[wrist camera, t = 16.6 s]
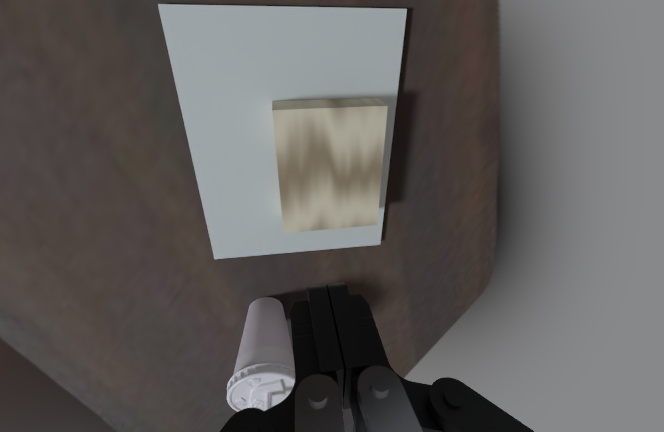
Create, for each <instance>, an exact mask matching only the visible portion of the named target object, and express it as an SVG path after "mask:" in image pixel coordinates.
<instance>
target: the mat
mask: <svg viewBox="0 0 664 432" xmlns="http://www.w3.org/2000/svg"><path fill="white" fill-rule="evenodd" d="M158 7H159V12H160V16H161V21H162V25H163V30H164V34H165V39H166V43H167V48H168V52H169V57H170V61H171V66H172V70H173V75H174V79H175V84H176V88H177V93H178V97H179V102H180V106H181V111H182V115H183V120H184V124H185V129H186V133H187V138H188V142H189V147H190V151H191V156H192V160H193V165H194V169H195V174H196V178H197V183H198V187H199V192H200V196H201V201H202V205H203V210H204V214H205V219H206V223H207V228H208V232H209V236H210V241H211V245H212V250H213V254H214V259H222V258H234V257H245V256H256V255H268V254H279V253H290V252H302V251H313V250H324V249H336V248H347V247H358V246H370V245H380V243H381V234H382V225H383V217H384V208H385V199H386V190H387V181H388V173H389V164H390V155H391V146H392V137H393V129H394V120H395V111H396V102H397V93H398V85H399V76H400V67H401V58H402V49H403V41H404V32H405V23H406V14H407V9H394V8H341V7H287V6H233V5H180V4H158ZM351 98H379V99H380V100H381V101H382V102H384V103H385V104H386V105H387V106H388V110H387V121H386V132H385V143H384V154H383V165H382V176H381V187H380V198H379V210H378V221H377V225H371V226H360V227H349V228H337V229H326V230H315V231H304V232H292V233H283V222H282V211H281V200H280V189H279V178H278V168H277V157H276V146H275V135H274V124H273V113H272V101H292V100H322V99H351Z"/></svg>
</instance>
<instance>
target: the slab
mask: <svg viewBox="0 0 664 432" xmlns="http://www.w3.org/2000/svg"><path fill="white" fill-rule="evenodd" d="M387 110H388V106H387V105H386V104H385V103H384V102H382V101H381V100H380V99H379V98H351V99H322V100H292V101H272V113H273V124H274V135H275V146H276V157H277V168H278V178H279V189H280V200H281V211H282V222H283V233H292V232H304V231H315V230H326V229H337V228H349V227H360V226H371V225H377V221H378V210H379V198H380V187H381V176H382V165H383V154H384V143H385V132H386V121H387Z"/></svg>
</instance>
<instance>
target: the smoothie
mask: <svg viewBox="0 0 664 432" xmlns="http://www.w3.org/2000/svg"><path fill="white" fill-rule="evenodd" d="M294 383H295V366H294V356H293V352H292V347H291V342H290V338H289V333H288V328H287V323H286V319H285V314H284V309H283V305H282V303H281V302H280V301H279V300H277V299H275V298H271V297H263V298H259V299H257V300H255V301H253V302H252V303H251V305H250V306H249V310H248V314H247V319H246V323H245V327H244V331H243V336H242V340H241V344H240V349H239V353H238V357H237V362H236V365H235V370H234V375H233V376H232V377H231V379H230V380H229V382H228V385H227V402H228V404H229V405H230V406H231V407H232V408H233V409H234V410H236V411H238V412H239V411H240V410H243V409H246V408H259V409H261V410H263V411H265V410H267V409H269V408H271V407H273V406H275V405H277V404H279V403H280V402H282V401H283V400H284V399H285V398H286V397H287V396H288V395H289V394H290V392H291V391H292V389H293V387H294Z"/></svg>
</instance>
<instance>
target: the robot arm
mask: <svg viewBox="0 0 664 432" xmlns="http://www.w3.org/2000/svg"><path fill="white" fill-rule="evenodd" d="M290 315H291V328H292V341H293V353H294V366H295V383H294V387H293V389H292V391H291V392H290V394H289V395H288V396H287V397H286V398H285V399H284V400H283V401H282V402H280V403H279V404H277V405H275V406H273V407H271V408H269V409H267V410H265V411H263V410H261V409H259V408H246V409H243V410H240V411H239V412H237V413H235V414H234V415H233V416H232V417H231V418H230V419H229V420H228V422H227V423H226V424H225V426H224V427H223V428H222V429H221V431H220V432H345V427H344V419H343V410H342V404H343V409H348V408H351V411H352V416H353V420H354V425H353V432H534V431H533V430H531V429H530V428H528V427H527V426H525V425H524V424H522V423H521V422H519V421H518V420H517V419H515V418H514V417H512V416H511V415H509V414H508V413H506V412H504V411H503V410H502V409H500V408H499V407H497V406H496V405H494V404H493V403H492V402H490V401H489V400H487V399H485V398H484V397H483V396H481V395H480V394H478V393H477V392H475V391H474V390H473V389H471V388H470V387H468V386H466V385H465V384H464V383H462V382H460V381H459V380H456V379H453V378H440V379H438V380H436V381H435V382H434V383H433V384H432V385H427V384H422V383H416V382H411V381H408V380H406V379H404V378H402V377H400V376H399V375H398V374H397V373H395V372H394V370H393V369H392V368H391V366H390V364H389V362H388V359H387V356H386V353H385V351H384V348H383V345H382V342H381V339H380V336H379V333H378V330H377V327H376V324H375V321H374V318H373V317H372V313H371V310H370V307H369V304H368V303H367V302H366V301H365V300H364V298H363V297H362V296H361V295H360V294H359V295H351V296H349V293H348V289H347V286H346V283H335V284H327V285H318V286H309V287H307V301H300V302H295V303H294V306H293V308H292V311H291V313H290Z"/></svg>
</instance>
